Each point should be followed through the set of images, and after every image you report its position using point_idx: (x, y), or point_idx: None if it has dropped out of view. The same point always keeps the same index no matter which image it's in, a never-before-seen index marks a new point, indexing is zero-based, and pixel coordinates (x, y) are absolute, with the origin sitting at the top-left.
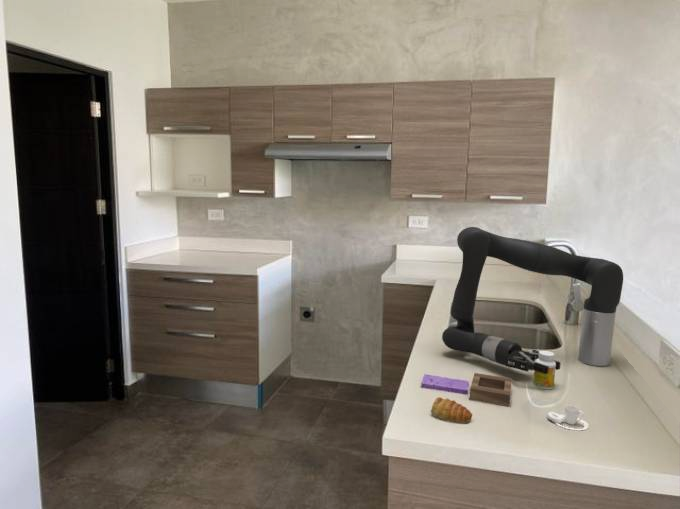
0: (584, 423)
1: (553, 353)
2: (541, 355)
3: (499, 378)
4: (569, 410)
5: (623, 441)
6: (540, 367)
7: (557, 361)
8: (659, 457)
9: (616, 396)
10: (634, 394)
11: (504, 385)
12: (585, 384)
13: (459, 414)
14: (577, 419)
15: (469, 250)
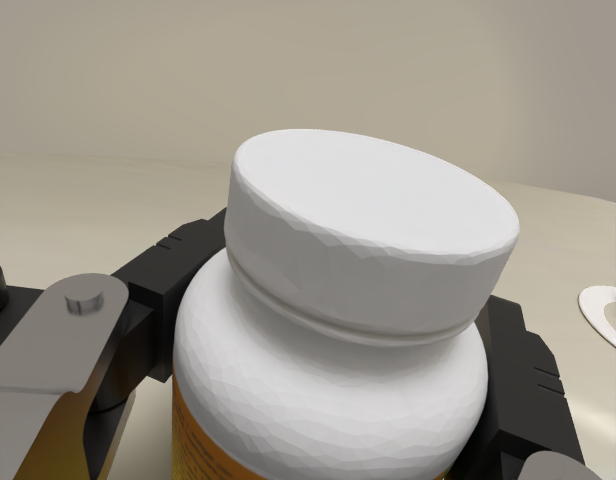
0: (601, 294)
1: (315, 130)
2: (508, 255)
3: None
4: None
5: (577, 233)
6: (555, 383)
7: (222, 217)
8: (565, 201)
9: (218, 197)
10: (163, 162)
11: None
12: (95, 259)
13: None
14: (597, 311)
15: None
